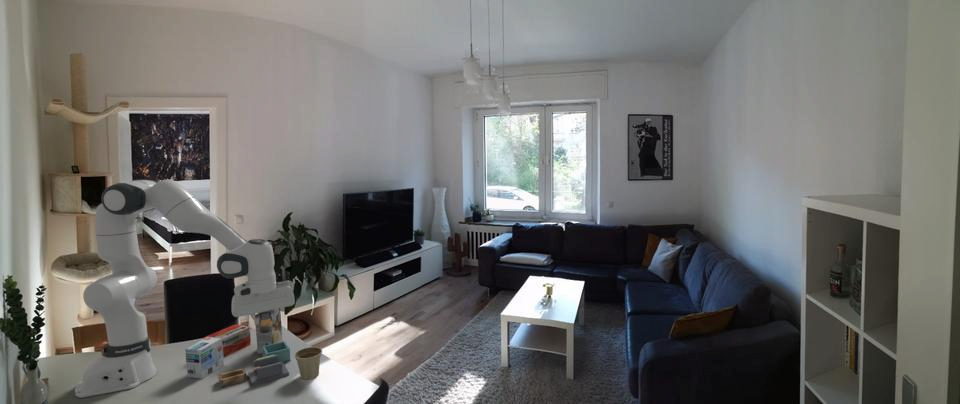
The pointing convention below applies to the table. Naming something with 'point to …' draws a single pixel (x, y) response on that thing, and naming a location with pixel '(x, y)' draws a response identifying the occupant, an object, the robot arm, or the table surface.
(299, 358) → the flower pot
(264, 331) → the cell
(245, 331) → the medicine box
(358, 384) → the table surface
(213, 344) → the light bulb box
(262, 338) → the coffee box
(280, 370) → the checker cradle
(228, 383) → the trough
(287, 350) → the cup
